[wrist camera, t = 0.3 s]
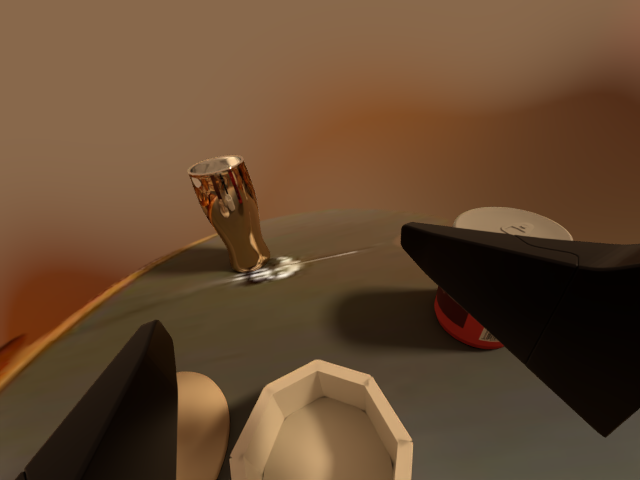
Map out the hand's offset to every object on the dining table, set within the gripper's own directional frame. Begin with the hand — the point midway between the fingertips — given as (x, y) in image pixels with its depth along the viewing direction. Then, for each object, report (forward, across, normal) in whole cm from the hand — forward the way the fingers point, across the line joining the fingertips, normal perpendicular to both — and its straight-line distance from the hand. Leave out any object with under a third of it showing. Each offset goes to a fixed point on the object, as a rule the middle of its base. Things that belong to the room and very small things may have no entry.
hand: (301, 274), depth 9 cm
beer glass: (+27, +1, +16) cm, 31 cm away
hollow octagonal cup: (0, +1, +17) cm, 17 cm away
